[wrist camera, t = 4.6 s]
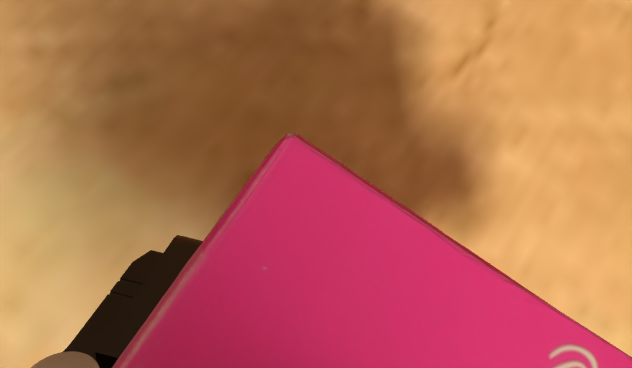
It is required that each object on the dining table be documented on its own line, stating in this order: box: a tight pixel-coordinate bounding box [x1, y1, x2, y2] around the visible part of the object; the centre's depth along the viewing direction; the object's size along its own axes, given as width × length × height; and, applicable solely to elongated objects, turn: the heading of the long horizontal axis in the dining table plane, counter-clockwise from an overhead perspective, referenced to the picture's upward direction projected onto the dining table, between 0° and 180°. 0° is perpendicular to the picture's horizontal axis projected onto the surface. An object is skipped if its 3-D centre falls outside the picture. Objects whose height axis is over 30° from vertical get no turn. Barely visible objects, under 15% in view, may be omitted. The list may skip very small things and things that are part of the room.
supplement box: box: [112, 133, 632, 368], centre depth 11 cm, size 6×6×12 cm
